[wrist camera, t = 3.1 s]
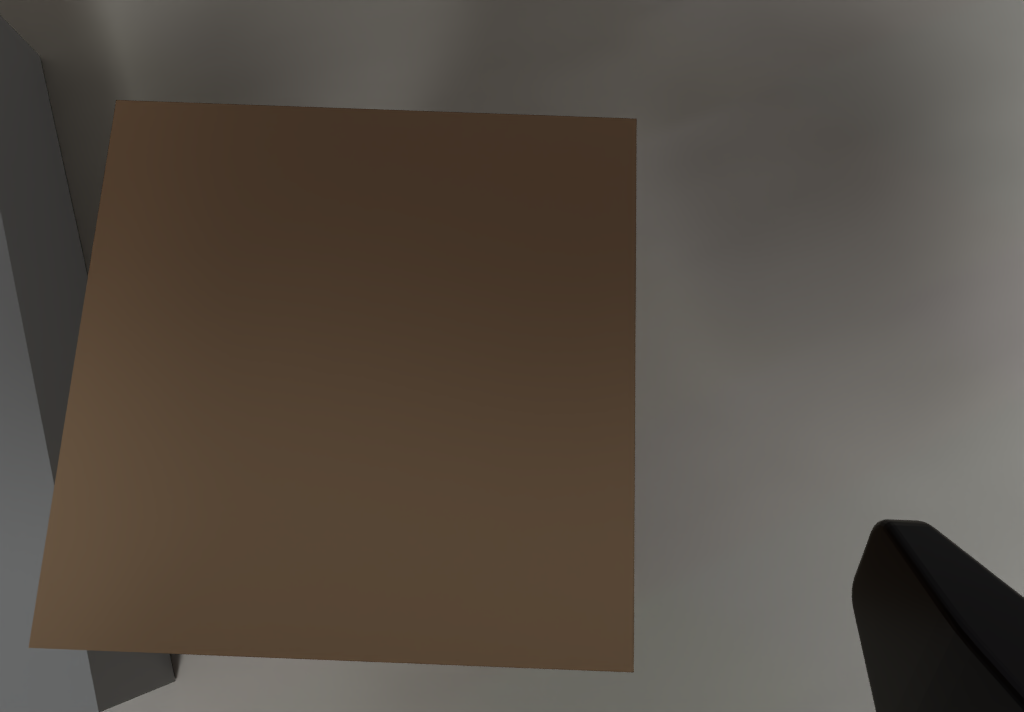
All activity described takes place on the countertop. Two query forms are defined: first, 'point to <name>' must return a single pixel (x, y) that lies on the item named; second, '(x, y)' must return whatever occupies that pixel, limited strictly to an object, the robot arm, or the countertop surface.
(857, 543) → the countertop surface
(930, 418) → the countertop surface
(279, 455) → the brown wooden block
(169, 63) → the countertop surface
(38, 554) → the socket block
